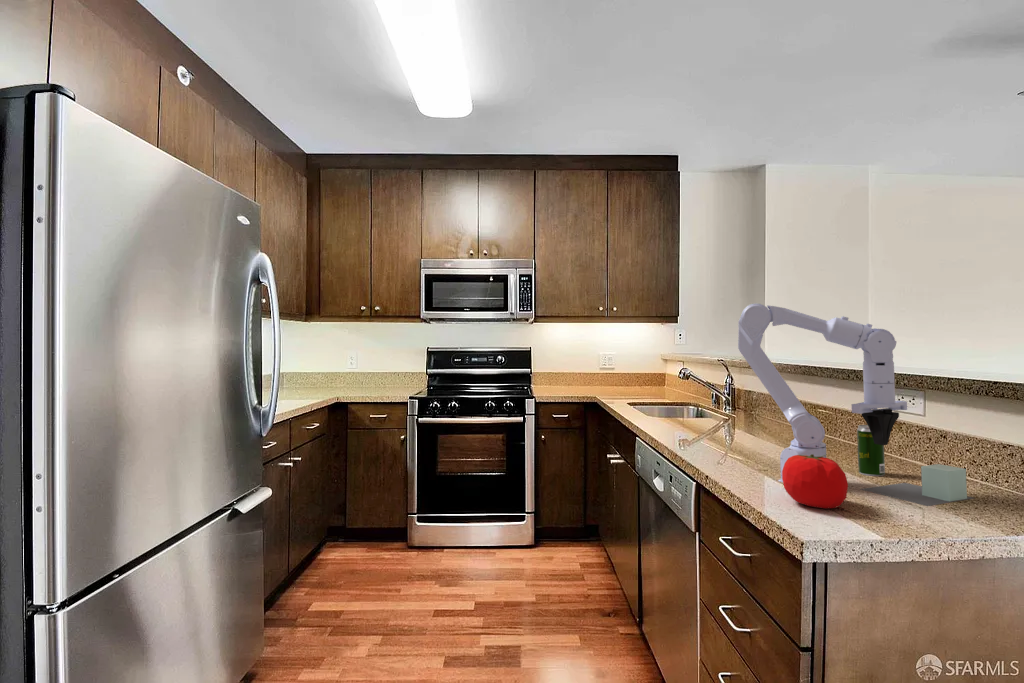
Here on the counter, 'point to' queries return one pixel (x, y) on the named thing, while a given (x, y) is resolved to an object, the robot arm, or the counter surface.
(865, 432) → the beer can
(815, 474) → the tomato
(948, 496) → the pale green block
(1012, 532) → the counter surface
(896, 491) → the rubber mat
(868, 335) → the robot arm
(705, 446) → the counter surface
